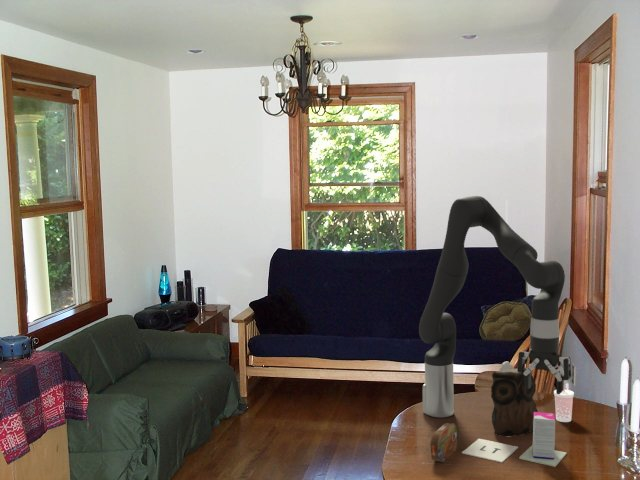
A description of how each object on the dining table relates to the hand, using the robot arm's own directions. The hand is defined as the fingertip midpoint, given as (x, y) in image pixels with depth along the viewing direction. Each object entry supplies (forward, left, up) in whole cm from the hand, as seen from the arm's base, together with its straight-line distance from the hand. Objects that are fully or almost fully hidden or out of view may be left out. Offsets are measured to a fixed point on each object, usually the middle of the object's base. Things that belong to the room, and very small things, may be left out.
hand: (543, 390), depth 203 cm
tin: (-23, -14, -19) cm, 33 cm away
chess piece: (-24, +36, -19) cm, 47 cm away
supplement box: (0, 0, -19) cm, 19 cm away
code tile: (-14, -4, -19) cm, 24 cm away
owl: (-15, +15, -19) cm, 29 cm away
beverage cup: (-4, +31, -19) cm, 37 cm away
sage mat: (0, 0, -19) cm, 19 cm away
